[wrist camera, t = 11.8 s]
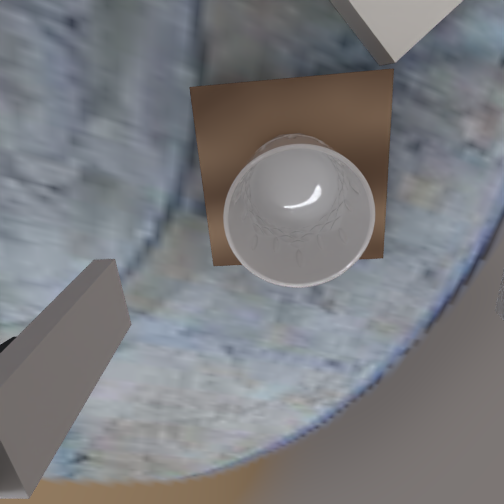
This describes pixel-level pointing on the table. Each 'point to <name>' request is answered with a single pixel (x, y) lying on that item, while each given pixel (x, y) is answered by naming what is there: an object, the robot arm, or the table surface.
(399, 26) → the pale block
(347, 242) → the white cup
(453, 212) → the table surface
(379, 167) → the walnut block
